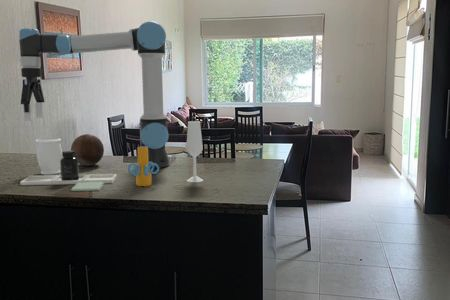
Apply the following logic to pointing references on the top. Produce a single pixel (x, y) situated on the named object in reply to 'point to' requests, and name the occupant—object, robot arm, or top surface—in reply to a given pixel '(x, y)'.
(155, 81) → the robot arm
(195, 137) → the champagne flute
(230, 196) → the top surface
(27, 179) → the tray
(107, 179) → the tray
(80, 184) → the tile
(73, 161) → the supplement bottle
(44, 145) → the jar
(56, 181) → the tray middle
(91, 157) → the wooden sphere
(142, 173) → the orange and blue toy
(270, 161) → the top surface
